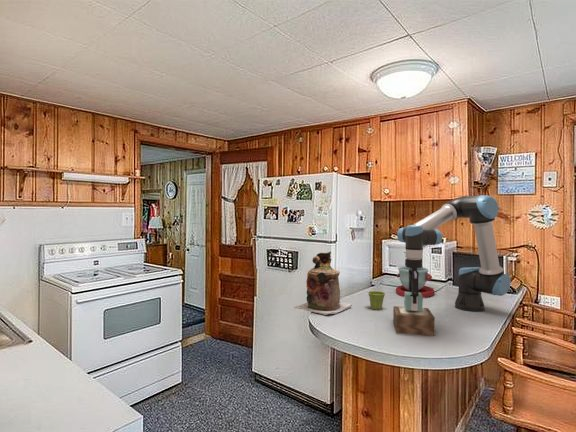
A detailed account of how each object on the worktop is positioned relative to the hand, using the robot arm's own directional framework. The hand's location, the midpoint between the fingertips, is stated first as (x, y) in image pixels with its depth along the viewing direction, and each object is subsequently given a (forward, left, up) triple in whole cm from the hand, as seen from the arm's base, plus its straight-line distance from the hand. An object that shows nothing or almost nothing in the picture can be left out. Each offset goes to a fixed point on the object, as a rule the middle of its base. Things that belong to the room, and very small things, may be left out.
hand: (413, 308), depth 171 cm
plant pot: (+15, -34, -10) cm, 38 cm away
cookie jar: (+44, -27, -10) cm, 52 cm away
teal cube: (0, 0, 0) cm, 0 cm away
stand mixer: (-12, -80, -10) cm, 81 cm away
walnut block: (0, 0, -10) cm, 10 cm away
